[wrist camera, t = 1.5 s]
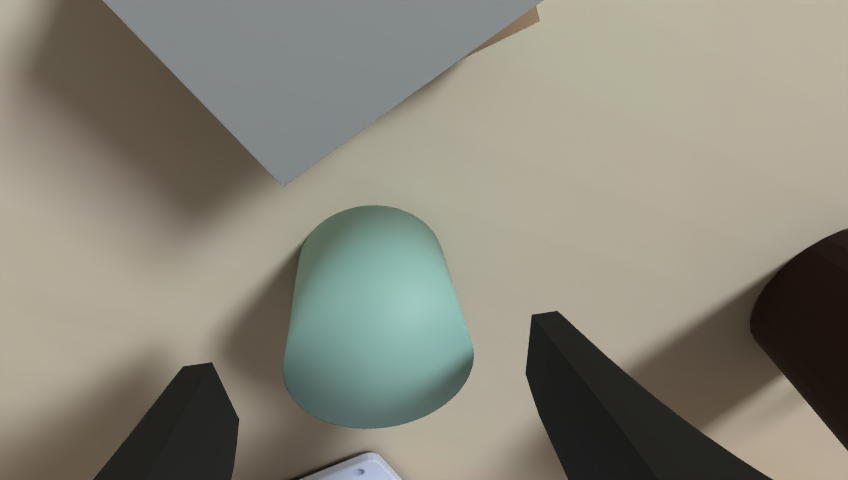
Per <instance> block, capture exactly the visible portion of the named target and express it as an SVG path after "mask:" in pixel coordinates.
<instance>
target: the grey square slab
mask: <svg viewBox="0 0 848 480" xmlns="http://www.w3.org/2000/svg"><path fill="white" fill-rule="evenodd" d="M103 1H104V2H105V3H106V4H107V6H108V7H109V8H110V9H111V10H112V11H113V12H114V13H115V14H116V15H117V16H118V17H119V18H120V19H121V20H122V21H123V22H124V23H125V24H126V25H127V26H128V27H129V28H130V29H131V30H132V31H133V32H134V33H135V34H136V35H137V36H138V38H139V39H140V40H141V41H142V42H143V43H144V44H145V45H146V46H147V47H148V48H149V49H150V50H151V51H152V52H153V53H154V54H155V55H156V56H157V57H158V58H159V59H160V60H161V61H162V62H163V63H164V64H165V65H166V66H167V67H168V68H169V70H170V71H171V72H172V73H173V74H174V75H175V76H176V77H177V78H178V79H179V80H180V81H181V82H182V83H183V84H184V85H185V86H186V87H187V88H188V89H189V90H190V91H191V92H192V93H193V94H194V95H195V96H196V97H197V98H198V99H199V100H200V102H201V103H202V104H203V105H204V106H205V107H206V108H207V109H208V110H209V111H210V112H211V113H212V114H213V115H214V116H215V117H216V118H217V119H218V120H219V121H220V122H221V123H222V124H223V125H224V126H225V127H226V128H227V129H228V130H229V131H230V132H231V134H232V135H233V136H234V137H235V138H236V139H237V140H238V141H239V142H240V143H241V144H242V145H243V146H244V147H245V148H246V149H247V150H248V151H249V152H250V153H251V154H252V155H253V156H254V157H255V158H256V159H257V160H258V161H259V162H260V163H261V164H262V166H263V167H264V168H265V169H266V170H267V171H268V172H269V173H270V174H271V175H272V176H273V177H274V178H275V179H276V180H277V181H278V182H279V183H280V184H281V185H282V186H284V185H286V184H287V183H289V182H290V181H291V180H293V179H294V178H296V177H297V176H298V175H300V174H301V173H303V172H304V171H305V170H307V169H308V168H310V167H311V166H312V165H314V164H315V163H317V162H318V161H319V160H321V159H322V158H324V157H325V156H326V155H328V154H329V153H330V152H332V151H333V150H335V149H336V148H337V147H339V146H340V145H342V144H343V143H344V142H346V141H347V140H349V139H350V138H351V137H353V136H354V135H356V134H357V133H358V132H360V131H361V130H363V129H364V128H365V127H367V126H368V125H370V124H371V123H372V122H374V121H375V120H377V119H378V118H379V117H381V116H382V115H384V114H385V113H386V112H388V111H389V110H391V109H392V108H393V107H395V106H396V105H398V104H399V103H400V102H402V101H403V100H405V99H406V98H407V97H409V96H410V95H412V94H413V93H414V92H416V91H417V90H419V89H420V88H421V87H423V86H424V85H425V84H427V83H428V82H430V81H431V80H432V79H434V78H435V77H437V76H438V75H439V74H441V73H442V72H444V71H445V70H446V69H448V68H449V67H451V66H452V65H453V64H455V63H456V62H458V61H459V60H460V59H462V58H463V57H465V56H466V55H467V54H469V53H470V52H472V51H473V50H474V49H476V48H477V47H479V46H480V45H481V44H483V43H484V42H486V41H487V40H488V39H490V38H491V37H493V36H494V35H495V34H497V33H498V32H500V31H501V30H502V29H504V28H505V27H507V26H508V25H509V24H511V23H512V22H514V21H515V20H516V19H518V18H519V17H520V16H522V15H523V14H525V13H526V12H527V11H529V10H530V9H532V8H533V7H534V6H536V5H537V4H539V3H540V2H541V1H543V0H103Z"/></svg>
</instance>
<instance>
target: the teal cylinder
mask: <svg viewBox="0 0 848 480" xmlns="http://www.w3.org/2000/svg"><path fill="white" fill-rule="evenodd" d="M473 359H474V354H473V346H472V341H471V338H470V335H469V332H468V329H467V326H466V323H465V320H464V317H463V313H462V310H461V307H460V304H459V301H458V298H457V295H456V292H455V289H454V286H453V283H452V280H451V277H450V273H449V270H448V267H447V264H446V261H445V258H444V255H443V252H442V249H441V246H440V244H439V241H438V239H437V237H436V236H435V234H434V233H433V231H432V230H431V229H430V228H429V227H428V226H427V225H426V224H425V223H424V222H423V221H422V220H420V219H419V218H417V217H416V216H414V215H412V214H410V213H408V212H406V211H403V210H400V209H397V208H392V207H387V206H377V205H376V206H361V207H355V208H351V209H347V210H344V211H342V212H339V213H337V214H335V215H333V216H331V217H329V218H328V219H326V220H325V221H323V222H322V223H321V224H319V225H318V226H317V227H316V228H315V229H314V230H313V231H312V233H311V234H310V235H309V236H308V238H307V239H306V241H305V243H304V244H303V247H302V249H301V252H300V256H299V261H298V268H297V274H296V281H295V288H294V295H293V302H292V308H291V315H290V322H289V329H288V335H287V342H286V349H285V356H284V362H283V376H284V382H285V385H286V387H287V390H288V392H289V393H290V395H291V397H292V398H293V399H294V400H295V401H296V403H297V404H298V405H299V406H300V407H302V408H303V409H304V410H305V411H307V412H308V413H310V414H311V415H313V416H315V417H317V418H319V419H321V420H323V421H326V422H329V423H332V424H335V425H340V426H344V427H351V428H363V429H371V428H385V427H391V426H397V425H401V424H405V423H408V422H411V421H414V420H417V419H420V418H422V417H424V416H426V415H428V414H430V413H432V412H434V411H436V410H437V409H439V408H440V407H442V406H443V405H445V404H446V403H447V402H448V401H450V400H451V399H452V398H453V397H454V396H455V395H456V394H457V393H458V392H459V391H460V389H461V388H462V387H463V385H464V384H465V382H466V380H467V379H468V377H469V375H470V372H471V369H472V365H473Z"/></svg>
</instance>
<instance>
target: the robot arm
mask: <svg viewBox="0 0 848 480" xmlns="http://www.w3.org/2000/svg"><path fill="white" fill-rule="evenodd" d="M526 376H527V380H528V383H529V386H530V389H531V392H532V395H533V398H534V401H535V404H536V407H537V410H538V413H539V416H540V418H541V420H542V423H543V425H544V427H545V429H546V432H547V434H548V436H549V438H550V440H551V443H552V445H553V447H554V449H555V451H556V454H557V456H558V458H559V460H560V462H561V464H562V467H563V469H564V471H565V473H566V475H567V477H568V480H773V479H771V478H769V477H768V476H766V475H764V474H763V473H761V472H759V471H758V470H756V469H755V468H753V467H752V466H750V465H749V464H747V463H745V462H744V461H742V460H741V459H739V458H738V457H736V456H735V455H733V454H732V453H730V452H729V451H727V450H726V449H725V448H723V447H722V446H720V445H719V444H717V443H716V442H714V441H713V440H712V439H710V438H709V437H707V436H706V435H704V434H703V433H702V432H700V431H699V430H697V429H696V428H695V427H693V426H692V425H691V424H689V423H688V422H687V421H685V420H684V419H683V418H681V417H680V416H679V415H677V414H676V413H675V412H673V411H672V410H671V409H670V408H668V407H667V406H666V405H664V404H663V403H662V402H661V401H659V400H658V399H657V398H656V397H654V396H653V395H652V394H651V393H649V392H648V391H647V390H646V389H644V388H643V387H642V386H641V385H640V384H638V383H637V382H636V381H635V380H634V379H633V378H631V377H630V376H629V375H628V374H627V373H626V372H624V371H623V370H622V369H621V368H620V367H619V366H617V365H616V364H615V363H614V362H613V361H612V360H610V359H609V358H608V357H607V356H606V355H605V354H604V353H603V352H602V351H600V350H599V349H598V348H597V347H596V346H595V345H594V344H593V343H592V342H591V341H589V340H588V339H587V338H586V337H585V336H584V335H583V334H582V333H581V332H580V331H579V330H578V329H576V328H575V327H574V326H573V325H572V324H571V323H570V322H569V321H568V320H567V319H566V318H565V317H564V316H562V315H561V314H560V313H559V312H558V311H554V312H547V313H541V314H534V315H532V318H531V328H530V337H529V347H528V356H527V365H526ZM238 426H239V418H238V416H237V414H236V412H235V410H234V408H233V406H232V404H231V401H230V399H229V397H228V395H227V393H226V391H225V389H224V387H223V385H222V382H221V380H220V378H219V376H218V374H217V372H216V370H215V368H214V366H213V363H212V362H211V363H204V364H198V365H191V366H184V367H182V369H181V370H180V371H179V372H178V374H177V375H176V376H175V377H174V379H173V380H172V381H171V382H170V384H169V385H168V386H167V387H166V389H165V390H164V391H163V393H162V394H161V395H160V396H159V398H158V399H157V400H156V402H155V403H154V404H153V405H152V407H151V408H150V409H149V411H148V412H147V413H146V414H145V416H144V417H143V418H142V420H141V421H140V422H139V423H138V425H137V426H136V427H135V429H134V430H133V431H132V432H131V434H130V435H129V436H128V437H127V439H126V440H125V441H124V442H123V443H122V445H121V446H120V447H119V448H118V450H117V451H116V452H115V453H114V455H113V456H112V457H111V458H110V460H109V461H108V462H107V463H106V465H105V466H104V467H103V468H102V469H101V471H100V472H99V473H98V474H97V475H96V477H95V478H94V479H93V480H231V477H232V473H233V468H234V461H235V453H236V446H237V436H238ZM299 480H402V479H401V478H400V477H399V476H398V475H397V474H396V473H395V471H394V470H393V469H392V468H391V467H390V466H389V465H388V464H387V463H386V462H385V461H384V460H383V459H382V458H381V457H380V456H379V455H378V454H376V453H372V452H370V453H364V454H362V455H359V456H357V457H354V458H352V459H349V460H347V461H344V462H342V463H339V464H337V465H334V466H332V467H329V468H327V469H324V470H322V471H319V472H317V473H314V474H312V475H309V476H307V477H304V478H302V479H299Z"/></svg>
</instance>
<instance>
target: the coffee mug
mask: <svg viewBox="0 0 848 480" xmlns="http://www.w3.org/2000/svg"><path fill="white" fill-rule="evenodd" d="M750 328H751V333H752V335H753V337H754V339H755V340H756V341H757V343H758V344H759V345H760V346H761V347H762V349H763V350H764V351H765V352H766V353H767V355H768V356H769V357H770V358H771V359H772V361H773V362H774V363H775V364H776V365H777V367H778V368H779V369H780V370H781V371H782V373H783V374H784V375H785V376H786V377H787V379H788V380H789V381H790V382H791V383H792V385H793V386H794V387H795V388H796V389H797V391H798V392H799V393H800V394H801V395H802V397H803V398H804V399H805V400H806V401H807V403H808V404H809V405H810V406H811V407H812V409H813V410H814V411H815V412H816V413H817V415H818V416H819V417H820V418H821V419H822V421H823V422H824V423H825V424H826V425H827V427H828V428H829V429H830V430H831V431H832V432H833V434H834V435H835V436H836V437H837V438H838V440H839V441H840V442H841V443H842V444H843V446H844V447H845V448H846V449H847V450H848V229H846V230H843V231H840V232H838V233H836V234H834V235H831V236H829V237H827V238H825V239H823V240H821V241H820V242H818V243H816V244H814V245H813V246H811V247H809V248H808V249H806V250H805V251H804V252H802V253H801V254H799V255H798V256H797V257H795V258H794V259H793V260H791V261H790V262H789V263H788V264H787V265H786V266H785V267H784V268H783V269H781V270H780V271H779V272H778V273H777V274H776V275H775V277H774V278H773V279H772V280H771V281H770V282H769V283H768V285H767V286H766V287H765V289H764V290H763V292H762V293H761V295H760V296H759V298H758V299H757V302H756V304H755V306H754V308H753V310H752V315H751V319H750Z"/></svg>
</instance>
